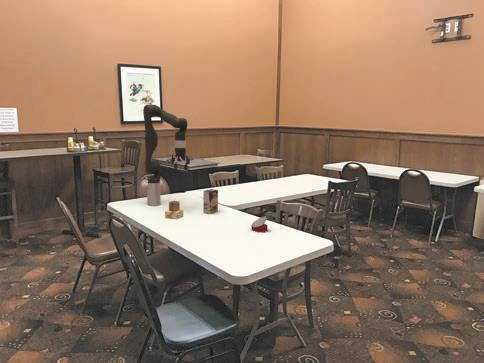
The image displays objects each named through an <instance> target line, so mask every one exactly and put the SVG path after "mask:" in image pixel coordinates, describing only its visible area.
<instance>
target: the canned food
mask: <svg viewBox="0 0 484 363" xmlns="http://www.w3.org/2000/svg"><path fill="white" fill-rule="evenodd" d="M266 221H267V216H261V217H259V218H258V219H256V220H254V221H253V222H252V223H251V225H250V226H251V227H250V228H251V231H252V232H254V231H255V232H256V233H265V231H266V232H267V231H268V224H266ZM255 232H254V233H255Z"/></svg>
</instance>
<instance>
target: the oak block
mask: <svg viewBox="0 0 484 363" xmlns="http://www.w3.org/2000/svg"><path fill="white" fill-rule="evenodd" d="M182 217H184V209H181V208H180V210H179V211H176V212H173V211H169V209H167V210H165V211H164V218H165V219H167V220H168V219H169V220H178V219H181V218H182Z"/></svg>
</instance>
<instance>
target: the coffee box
mask: <svg viewBox="0 0 484 363" xmlns="http://www.w3.org/2000/svg"><path fill="white" fill-rule="evenodd" d="M202 197H203V200H202V201H203V203H202V204H203V208H202V210H203V214H207V215H211V214H215V213H218V212H219V189H206V190H203V196H202Z"/></svg>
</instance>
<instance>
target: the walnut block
mask: <svg viewBox="0 0 484 363" xmlns="http://www.w3.org/2000/svg"><path fill="white" fill-rule="evenodd" d="M180 202H181V201H177V200H171V201H168V210H169V211H173V212H176V211H179V210H180V209H181V208H180V206H181V205H180Z"/></svg>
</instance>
